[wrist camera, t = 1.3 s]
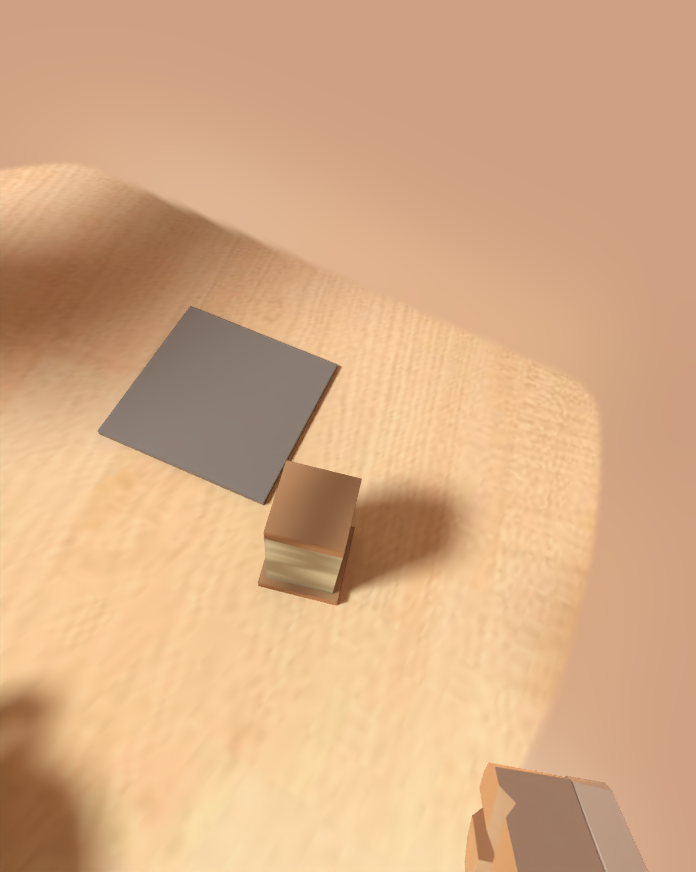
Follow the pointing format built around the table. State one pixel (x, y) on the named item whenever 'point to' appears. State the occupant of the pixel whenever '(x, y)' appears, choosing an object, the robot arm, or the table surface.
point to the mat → (221, 403)
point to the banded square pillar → (309, 532)
